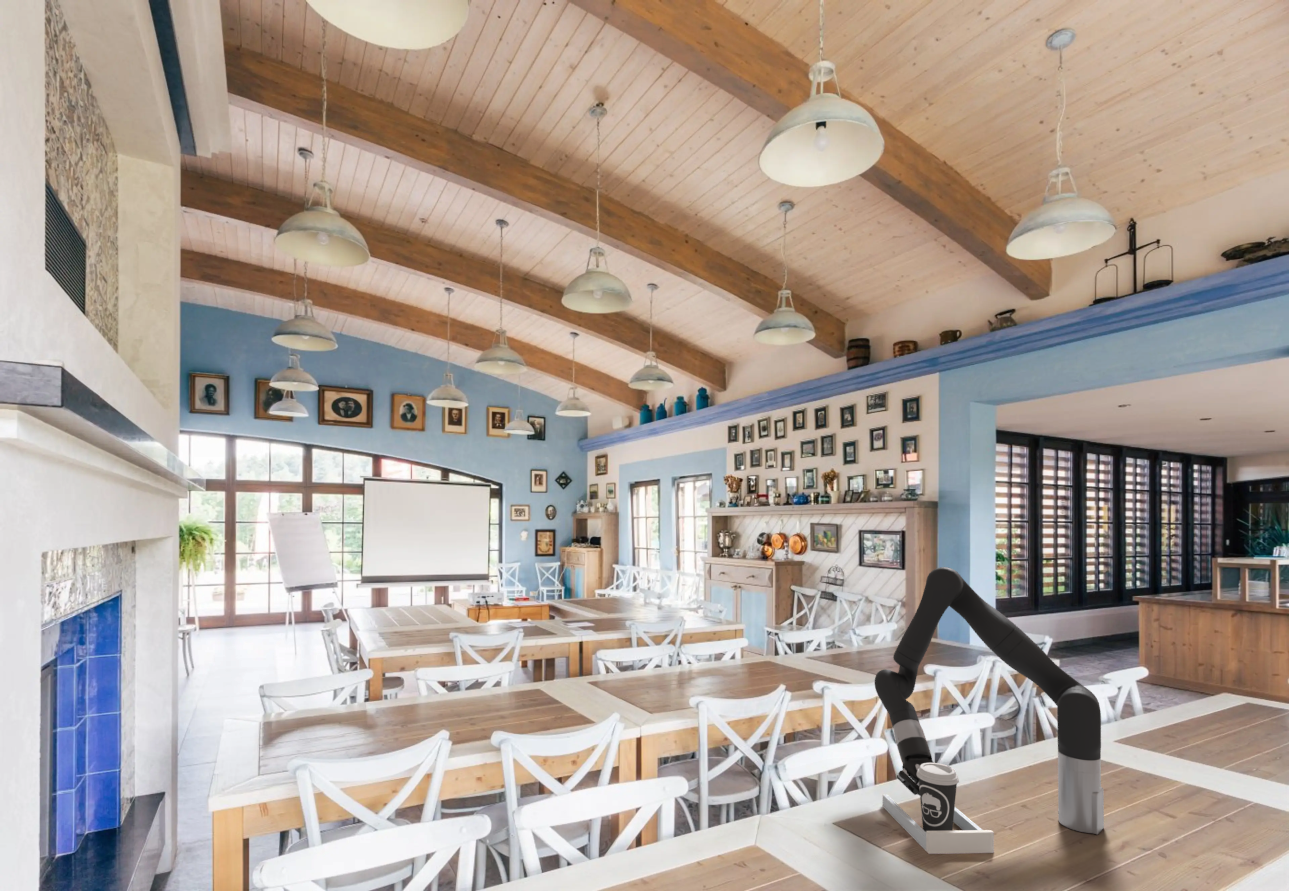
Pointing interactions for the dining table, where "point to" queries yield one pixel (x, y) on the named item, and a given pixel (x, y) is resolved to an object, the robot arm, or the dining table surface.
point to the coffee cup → (937, 796)
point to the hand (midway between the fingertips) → (933, 811)
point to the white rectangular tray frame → (944, 833)
